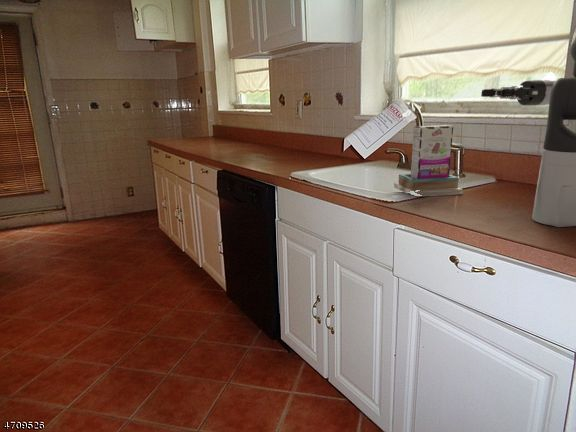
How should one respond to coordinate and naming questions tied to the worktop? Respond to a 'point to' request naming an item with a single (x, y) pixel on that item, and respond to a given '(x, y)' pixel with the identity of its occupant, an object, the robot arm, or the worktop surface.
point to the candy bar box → (431, 151)
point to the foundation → (429, 185)
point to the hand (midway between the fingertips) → (491, 92)
